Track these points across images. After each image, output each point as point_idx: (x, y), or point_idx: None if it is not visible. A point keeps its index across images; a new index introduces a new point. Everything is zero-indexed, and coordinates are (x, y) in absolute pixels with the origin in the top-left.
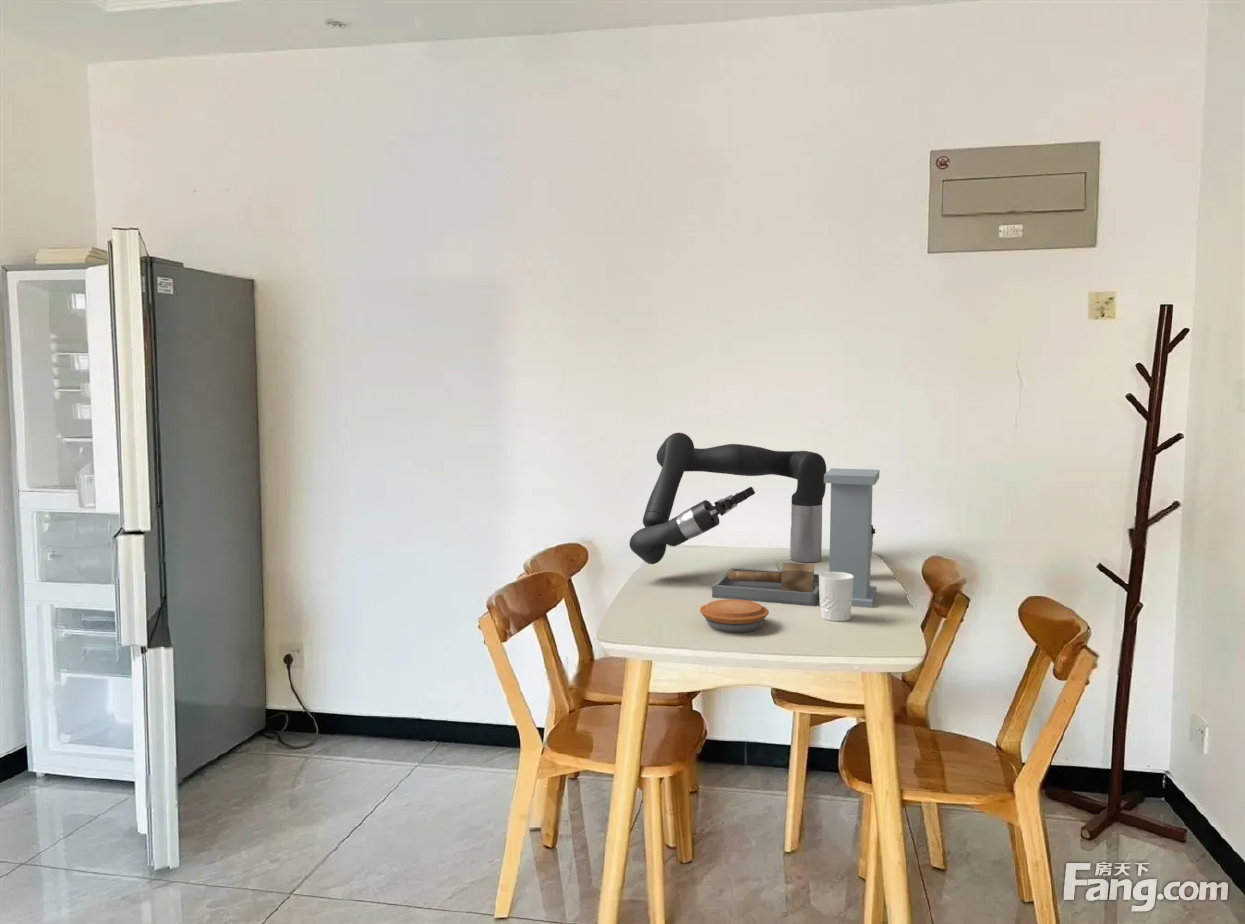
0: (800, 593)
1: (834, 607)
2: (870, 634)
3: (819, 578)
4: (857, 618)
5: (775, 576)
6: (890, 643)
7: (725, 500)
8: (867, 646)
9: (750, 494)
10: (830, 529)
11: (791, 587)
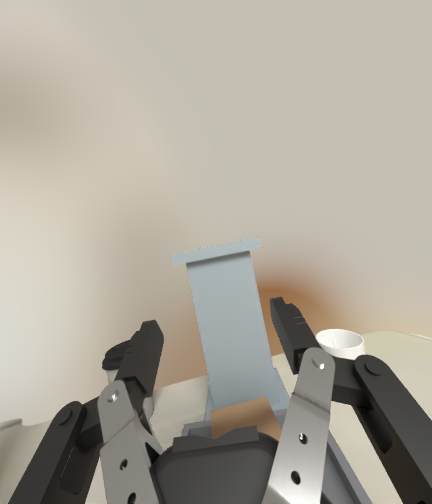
0: None
1: None
2: (371, 354)
3: (360, 349)
4: None
5: None
6: (378, 342)
7: (385, 365)
8: (410, 348)
9: (159, 349)
10: (261, 313)
11: None
